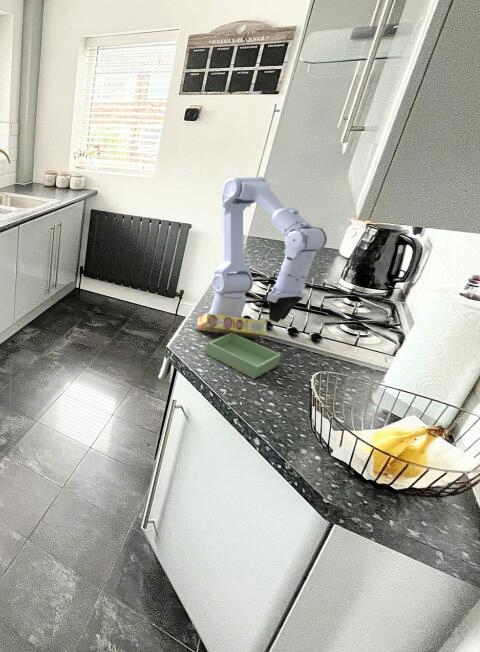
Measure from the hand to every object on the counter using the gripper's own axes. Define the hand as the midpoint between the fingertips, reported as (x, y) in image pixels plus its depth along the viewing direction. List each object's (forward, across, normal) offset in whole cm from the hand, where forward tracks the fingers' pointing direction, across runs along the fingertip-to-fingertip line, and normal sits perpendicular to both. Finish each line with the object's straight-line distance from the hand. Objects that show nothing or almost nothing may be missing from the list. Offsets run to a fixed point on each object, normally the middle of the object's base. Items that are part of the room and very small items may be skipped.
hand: (276, 319), depth 114 cm
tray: (+10, -11, +1) cm, 15 cm away
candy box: (+6, +2, +4) cm, 7 cm away
